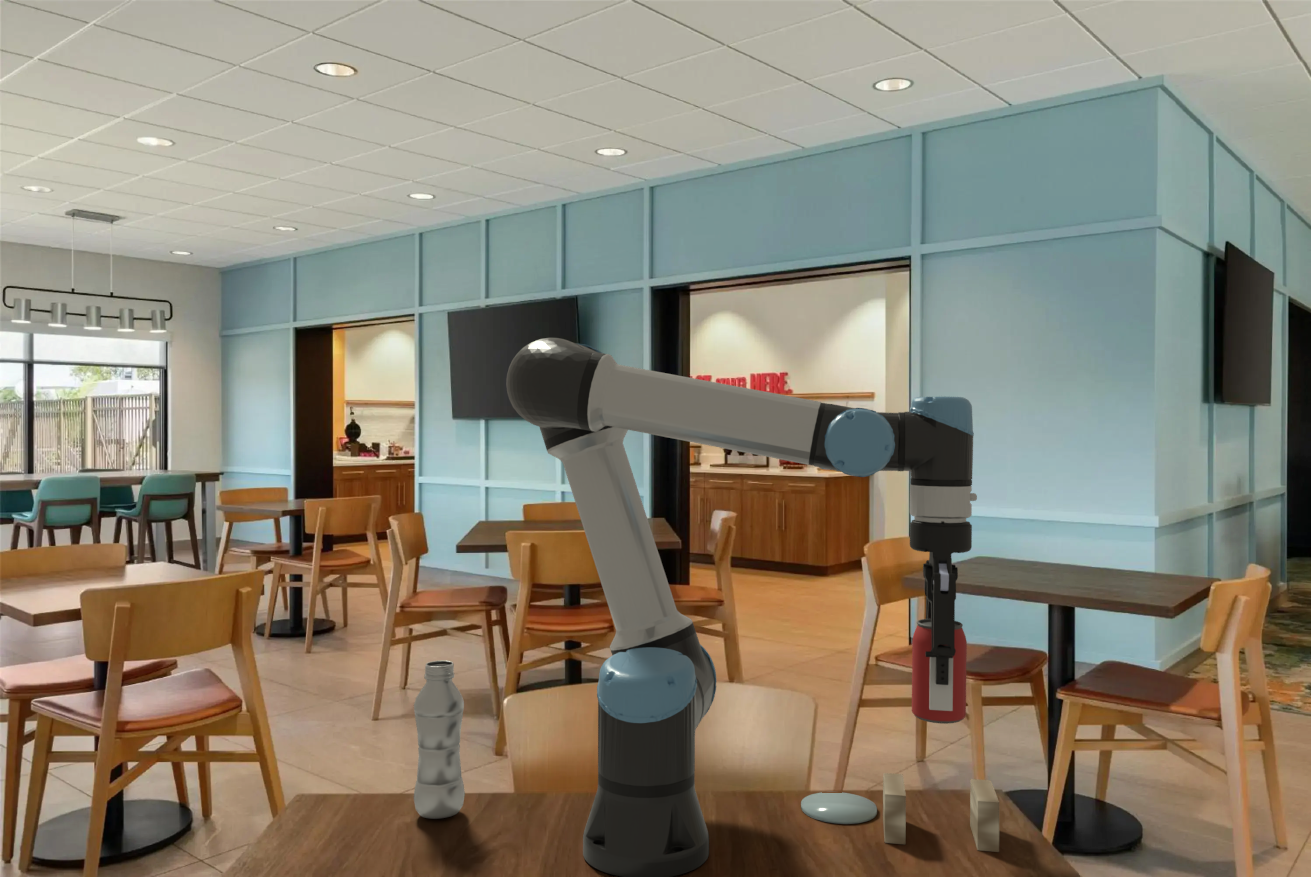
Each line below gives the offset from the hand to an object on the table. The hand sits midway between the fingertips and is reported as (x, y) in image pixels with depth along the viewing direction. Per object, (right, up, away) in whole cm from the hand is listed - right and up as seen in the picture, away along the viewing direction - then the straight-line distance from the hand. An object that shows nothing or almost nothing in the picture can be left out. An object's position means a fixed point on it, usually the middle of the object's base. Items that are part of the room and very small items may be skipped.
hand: (938, 701), depth 128 cm
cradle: (0, -17, 0) cm, 17 cm away
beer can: (0, -2, 0) cm, 2 cm away
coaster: (-11, -17, +8) cm, 22 cm away
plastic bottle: (-64, -17, +6) cm, 66 cm away
